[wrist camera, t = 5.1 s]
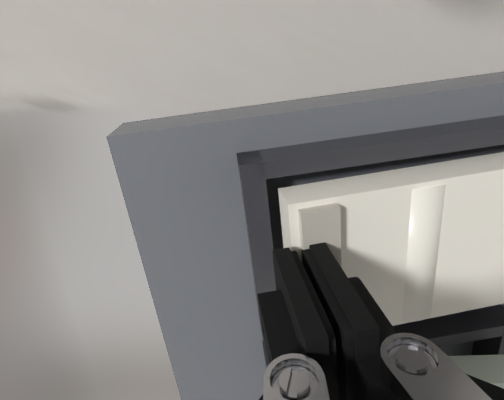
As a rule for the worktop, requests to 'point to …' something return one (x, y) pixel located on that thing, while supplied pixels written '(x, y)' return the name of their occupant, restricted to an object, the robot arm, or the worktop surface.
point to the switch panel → (268, 209)
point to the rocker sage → (482, 367)
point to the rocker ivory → (410, 233)
